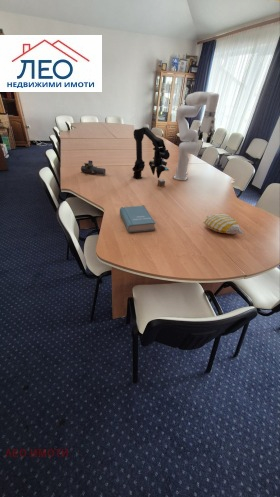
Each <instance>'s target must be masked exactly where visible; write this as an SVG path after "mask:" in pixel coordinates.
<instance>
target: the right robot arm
mask: <svg viewBox="0 0 280 497" xmlns="http://www.w3.org/2000/svg"><path fill="white" fill-rule="evenodd" d="M219 100H220V94H219V92H211V91H194V92H192V93H189V94H187V96H185V101H184V102H185V104H184V105H183V104H182V105H179V106H178V107H177V108H176V112H175V118H176V122H177V125H178V134H179V140H180V143H179V145H178V158H177V164H176V170H175V175H173V179H174V180H177V181H186V180H188V177H187V175H188V174H189V173H188V172H187V171H188V166H189V161H190V160H189V156H188V155H195V154H196V155H197V153H198V152H199V149H200V144H199V141H203V136H204V134H207V136H206V140H205V143H206V144H210V143H211V141H212V138H213V135H214V134H215V132H216V130H215V125H216V113H217V107H218V105H219ZM203 106H205V108H204V112H203V117H202V119H201V122H200V123H201V124H200V125H199V126H198V131H197V130H196V129H192V128H190V127H189V125H190V124H189V122H188V120H187V119H186V118H195V117H197V116H198V115H199V113H200V110H202V107H203Z"/></svg>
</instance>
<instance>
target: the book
mask: <svg viewBox="0 0 280 497" xmlns="http://www.w3.org/2000/svg"><path fill="white" fill-rule="evenodd" d="M119 214H120V217H121V219H122V221H123V223H124V226H125V227H126V230H127V232H128V233H141V232H151V231H155V230H156V229H155V224H156V221H155V220H154V218H153V217H152V215H151V214H150V212H149V211H148V209H147V207H146V206H145V205H135V206H134V205H133V206H124V207H123V206H122V207H120V208H119Z"/></svg>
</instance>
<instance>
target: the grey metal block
mask: <svg viewBox="0 0 280 497" xmlns="http://www.w3.org/2000/svg"><path fill="white" fill-rule="evenodd" d="M165 186H166V180H165V179H161V178H159V179H158V180H157V187H159V188H164V187H165Z"/></svg>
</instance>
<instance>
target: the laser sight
mask: <svg viewBox="0 0 280 497" xmlns="http://www.w3.org/2000/svg"><path fill="white" fill-rule="evenodd" d="M80 171H81V173H84V174H89V175H101V176H105V175H106V173H107V172H106V168H104V167H97V166H94V164H93V160H88V162H84V165H81V166H80Z"/></svg>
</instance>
